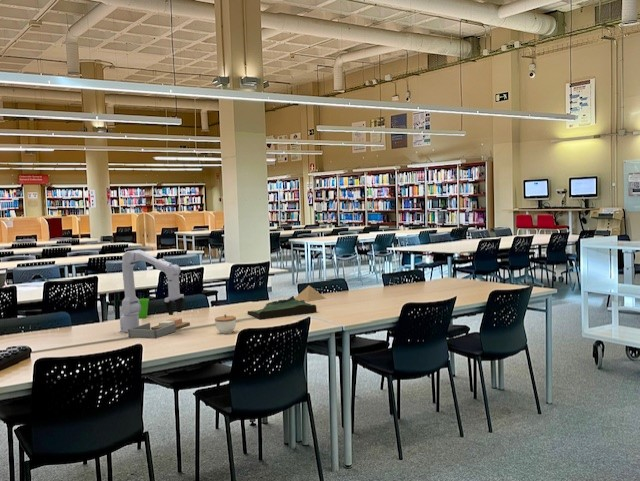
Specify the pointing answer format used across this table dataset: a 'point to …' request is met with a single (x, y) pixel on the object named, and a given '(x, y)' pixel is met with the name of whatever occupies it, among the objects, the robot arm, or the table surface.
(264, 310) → the topographic model
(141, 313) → the cup
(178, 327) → the walnut board
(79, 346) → the table surface
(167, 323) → the cream tile
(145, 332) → the grey box
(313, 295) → the model pyramid
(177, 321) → the terracotta tile
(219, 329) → the lidded jar
